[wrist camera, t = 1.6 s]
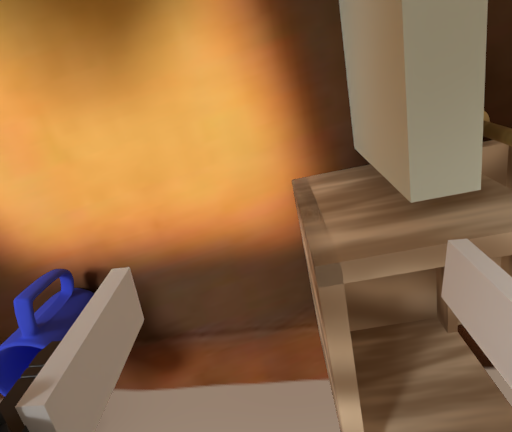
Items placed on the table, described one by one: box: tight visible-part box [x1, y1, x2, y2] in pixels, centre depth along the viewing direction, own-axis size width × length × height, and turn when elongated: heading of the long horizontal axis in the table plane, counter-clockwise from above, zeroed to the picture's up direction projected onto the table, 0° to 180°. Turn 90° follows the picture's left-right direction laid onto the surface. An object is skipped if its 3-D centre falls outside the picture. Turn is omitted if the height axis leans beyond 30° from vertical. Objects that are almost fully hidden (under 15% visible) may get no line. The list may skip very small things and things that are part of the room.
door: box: [339, 0, 488, 203], centre depth 24 cm, size 18×5×14 cm, turn 12°
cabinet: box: [292, 111, 512, 432], centre depth 31 cm, size 23×21×16 cm
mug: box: [0, 269, 95, 396], centre depth 37 cm, size 8×12×10 cm
